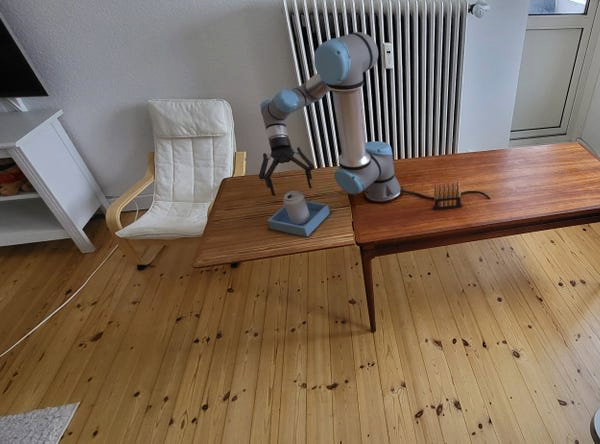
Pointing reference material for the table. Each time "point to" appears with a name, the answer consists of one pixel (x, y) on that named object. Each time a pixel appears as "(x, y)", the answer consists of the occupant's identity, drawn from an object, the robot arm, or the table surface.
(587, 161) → the table surface
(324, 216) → the tray
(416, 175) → the table surface
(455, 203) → the ammunition clip
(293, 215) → the can
